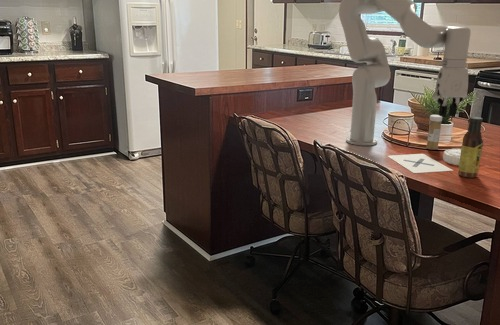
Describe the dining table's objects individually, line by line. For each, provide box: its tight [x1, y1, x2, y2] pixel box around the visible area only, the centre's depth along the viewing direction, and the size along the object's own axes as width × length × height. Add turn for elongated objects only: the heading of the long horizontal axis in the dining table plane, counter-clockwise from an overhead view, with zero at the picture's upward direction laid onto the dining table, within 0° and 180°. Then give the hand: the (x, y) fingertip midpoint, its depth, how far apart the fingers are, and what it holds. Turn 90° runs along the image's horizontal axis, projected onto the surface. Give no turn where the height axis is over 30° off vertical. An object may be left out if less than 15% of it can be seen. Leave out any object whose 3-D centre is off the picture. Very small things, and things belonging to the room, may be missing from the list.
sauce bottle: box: [458, 116, 484, 179], centre depth 162 cm, size 6×6×20 cm
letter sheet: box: [387, 153, 454, 174], centre depth 177 cm, size 20×15×1 cm
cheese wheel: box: [442, 148, 461, 166], centre depth 179 cm, size 12×12×4 cm
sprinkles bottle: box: [425, 114, 443, 151], centre depth 193 cm, size 5×5×13 cm
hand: (447, 115), depth 174 cm, fingers open, 3 cm apart
